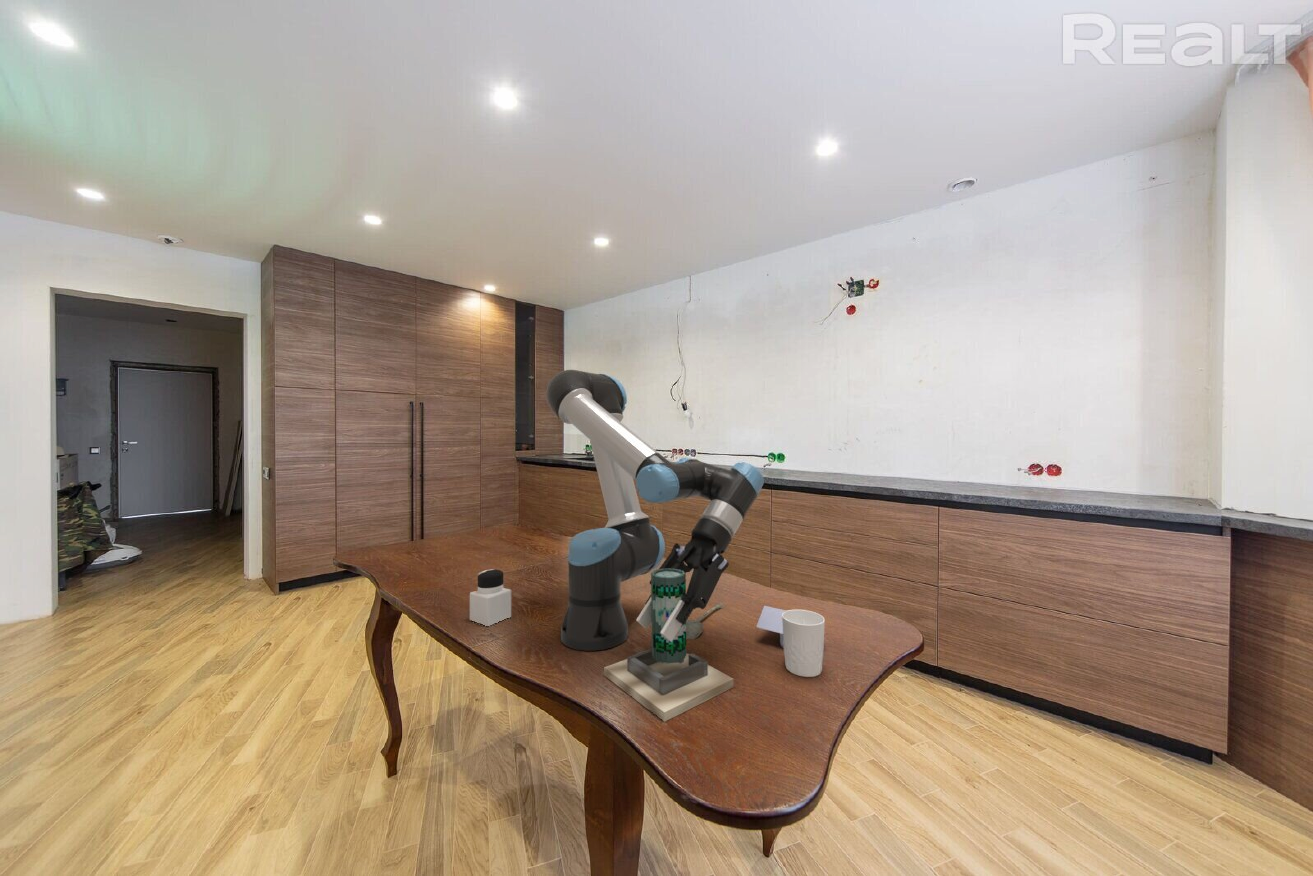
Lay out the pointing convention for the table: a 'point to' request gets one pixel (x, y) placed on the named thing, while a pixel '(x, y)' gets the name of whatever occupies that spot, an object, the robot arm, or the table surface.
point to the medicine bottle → (490, 599)
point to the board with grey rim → (668, 682)
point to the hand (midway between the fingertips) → (653, 630)
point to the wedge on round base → (772, 621)
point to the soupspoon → (697, 624)
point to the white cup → (803, 642)
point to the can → (667, 613)
